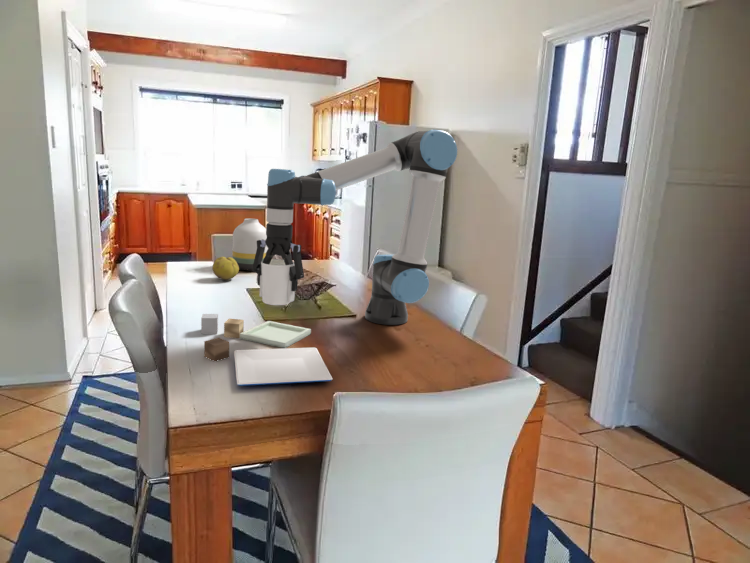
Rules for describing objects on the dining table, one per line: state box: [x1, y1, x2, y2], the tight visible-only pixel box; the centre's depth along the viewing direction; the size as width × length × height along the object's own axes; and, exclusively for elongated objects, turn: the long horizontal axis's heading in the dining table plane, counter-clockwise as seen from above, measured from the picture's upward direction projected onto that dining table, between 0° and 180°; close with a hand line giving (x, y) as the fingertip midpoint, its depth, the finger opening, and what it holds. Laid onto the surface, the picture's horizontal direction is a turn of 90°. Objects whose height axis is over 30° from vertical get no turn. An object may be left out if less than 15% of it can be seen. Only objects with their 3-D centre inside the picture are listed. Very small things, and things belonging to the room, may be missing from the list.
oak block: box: [223, 318, 245, 339], centre depth 156 cm, size 4×4×4 cm
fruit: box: [212, 256, 240, 281], centre depth 225 cm, size 11×12×10 cm
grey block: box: [200, 313, 219, 335], centre depth 158 cm, size 4×4×5 cm
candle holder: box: [261, 258, 295, 306], centre depth 155 cm, size 10×10×12 cm
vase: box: [231, 218, 268, 272], centre depth 249 cm, size 17×17×24 cm
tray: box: [239, 320, 312, 349], centre depth 158 cm, size 15×15×2 cm
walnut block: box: [203, 337, 230, 362], centre depth 138 cm, size 4×4×4 cm
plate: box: [233, 347, 333, 387], centre depth 133 cm, size 22×22×2 cm
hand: (276, 298), depth 156 cm, fingers closed on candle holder, 9 cm apart
